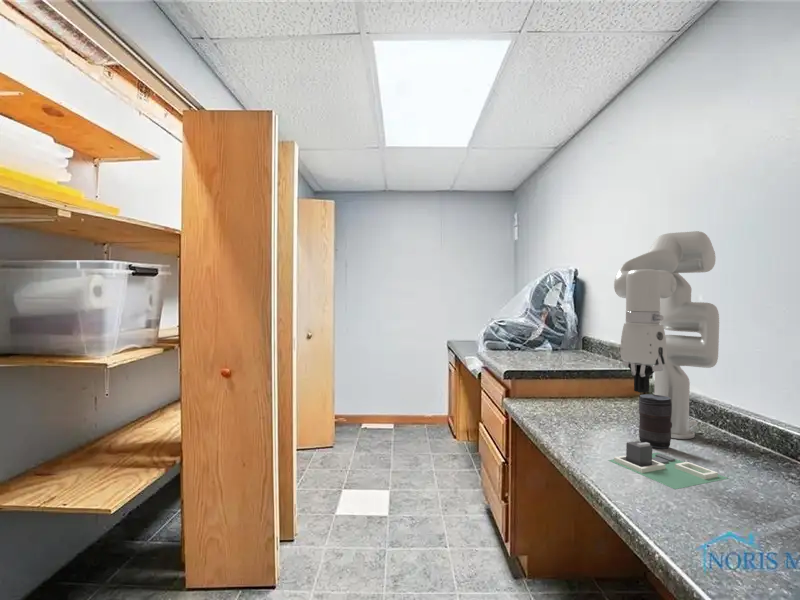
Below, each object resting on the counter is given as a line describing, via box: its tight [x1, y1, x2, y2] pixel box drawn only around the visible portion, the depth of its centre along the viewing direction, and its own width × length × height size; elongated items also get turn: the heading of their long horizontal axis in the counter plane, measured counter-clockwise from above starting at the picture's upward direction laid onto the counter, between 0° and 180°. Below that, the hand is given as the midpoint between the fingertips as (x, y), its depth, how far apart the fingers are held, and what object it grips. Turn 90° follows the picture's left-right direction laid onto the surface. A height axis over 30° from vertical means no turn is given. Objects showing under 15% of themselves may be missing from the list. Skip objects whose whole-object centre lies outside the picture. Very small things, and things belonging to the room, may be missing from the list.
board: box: [607, 452, 730, 490], centre depth 106 cm, size 18×18×2 cm
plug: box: [625, 440, 653, 467], centre depth 109 cm, size 4×4×6 cm
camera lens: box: [638, 393, 672, 450], centre depth 124 cm, size 8×8×15 cm
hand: (641, 391), depth 109 cm, fingers closed
